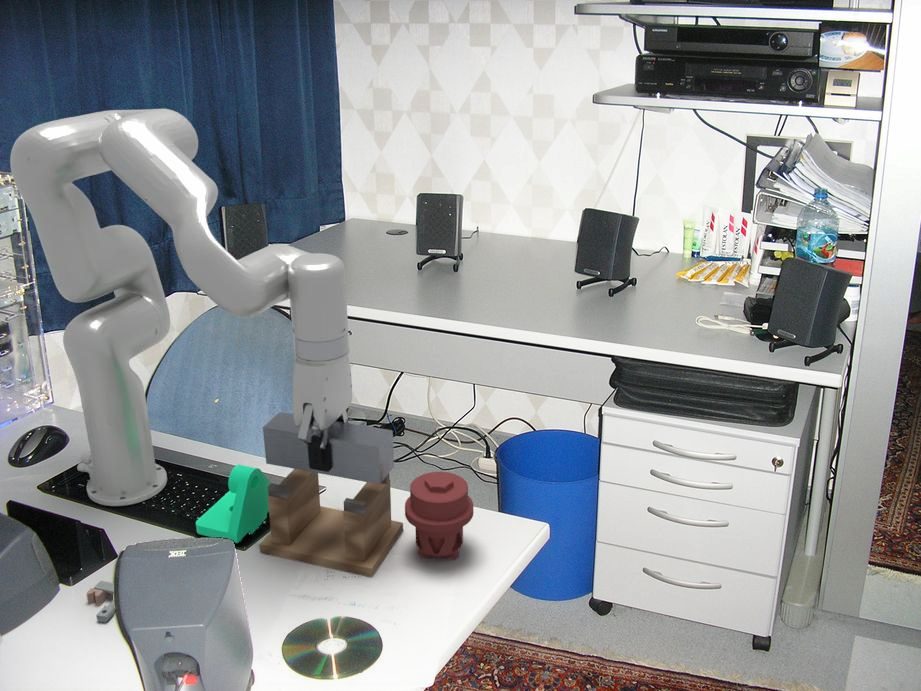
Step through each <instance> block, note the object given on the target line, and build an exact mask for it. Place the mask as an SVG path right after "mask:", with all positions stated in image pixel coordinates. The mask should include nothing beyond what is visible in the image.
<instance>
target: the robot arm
mask: <svg viewBox="0 0 921 691" xmlns="http://www.w3.org/2000/svg"><path fill="white" fill-rule="evenodd" d="M198 149H199V138H198V135H197V131H196V130H195V128H194V126H193V125H192V123H191V122H190V121H189V120H188V118H187V117H185V116H184V115H183V114H181V113H179V112H177V111H175V110H172V109H169V108H150V109H149V108H147V109H113V110H103V111H102V110H101V111H96V112H92V113H87V114H82V115H77V116H72V117H65V118H59V119H56V120H55V119H54V120H51V121H47V122H43V123H40V124H37V125H35V126H33V127H30V128H28V129H26V130H25V132H23V133H22V134H20V135H19V136H18V138H16V140H15V142H14V144H13V146H12V148H11V151H10V158H9V162H10V164H9V165H10V172H11V175H12V179H13V182H14V185H15V186H16V189H17V191H18V192H19V194H20V196H21V198H22V200H23V201H24V204H25V205H26V207H27V210H28V211H29V213H30V215H31V218H32V220H33V223H34V226H35V229H36V232H37V235H38V238H39V241H40V245H41V248H42V250H43V251H42V252H43V253H44V256H45V259H46V262H47V265H48V268H49V270H50V271H49V272H50V274H51V277H52V279H53V282H54V285H55V288H56V289H57V291H58V292H59V294H60V295H61V297H62V298H64V299H65V300H67V301H69V302H71V303H75V304H76V303H77V304H78V303H80V304H81V303H87V302H89V301H92V300H96V299H98V298H100V297H103V296H105V295H109V294H110V293H112V292H113V293H114V296H115V297H114V298H113V299H112V298H111V299H110V300H108V301H105V302H102V303H100V304H98V305H95V306H94V307H91V308H90V309H87V310H85V311H83V312H81V313H80V314H77V315H76V316H74V318H73V319H71V320H70V322H69V323H68V324H67V325H66V327H65V328H64V332H63V335H62V343H63V347H64V352H65V354H66V357H67V358H68V360H69V364H70V365H71V368H72V371H73V374H74V376H75V380H76V384H77V387H78V392H79V393H78V394H79V398H80V402H81V406H82V407H81V408H82V412H83V417H84V424H85V428H86V434H87V435H86V436H87V439H88V440H87V441H88V445H89V451H90V453H88V452H83V453H82V454H81V456H80V458H79V459H80V460H79V461H80V462H79V463H78V465H77V466H76V467H77V468H76V469H77V471H79V472H82V473H83V472H84V473H88V474H89V478H90V479H89V480H88V481H87V484H86V492H87V493H86V494H87V497H89V499H90V500H91V501H92V502H94V503H97V504H99V505H101V506H106V507H107V506H109V507H124V506H130V505H131V506H132V505H135V504H138V503H142V502H144V501H146V500H149V499H151V498H153V497H155V496H157V495H158V494H159V493H160V492H161V491H162V490H163V489H164V488H165V487H166V485H167V482H168V476H167V475H168V474H167V471H166V470H165V468H164V467H163V466H161V464H157V463H156V460H155V452H154V445H153V439H152V431H151V425H150V419H149V413H148V412H149V411H148V406H147V398H146V393H145V388H144V384H143V382H142V379H141V378H140V376H139V375H138V374H137V373H136V372H135V371H134V370H133V368H132V367H131V365H130V360H131V359H133V358H134V357H136V356H138V355H139V354H141V353H144V352H145V351H147V350H148V349H150V348H152V347H153V346H156V345H157V344H159V343H161V342H162V341H163V340H164V339H166V336H167V335H168V334H169V332H170V327H171V316H170V309H169V306H168V303H167V299H166V295H165V292H164V289H163V285H162V282H161V279H160V278H161V277H160V275H159V271H158V267H157V265H156V261H155V259H154V255H153V253H152V250H151V248H150V246H149V244H148V243H147V241H146V240H145V239H144V237H143V236H142V235H141V234H140V233H139V232H138V231H137V230H135V229H133V228H131V227H129V226H127V225H122V224H114V225H108V226H105V227H103V228H101V227H100V224H99V222H98V221H99V220H98V218H97V215H96V211H95V208H94V206H93V204H92V203H91V201H90V200H89V198H88V196H86V194H85V193H84V192H83V191H82V190H81V189H80V188H78V186H77V185H75V184H74V183H73V182H74V181H77V180H80V179H83V178H86V177H90V176H94V175H98V174H103V173H106V172H109V171H112V172H113V173H114V174H115V175H116V176H117V177H118V178H119V179H120V180H121V181H122V182H123V183H124V184H125V185H126V186H128V187H129V188H130V189H131V191H133V193H135V194H136V195H137V196H138V197H139V198H140V199H141V200H142V201H144V202H145V204H146V205H148V206H149V207H150V208H151V209H152V210H153V211H154V212H155V213H156V214H157V215H158V216H159V217H161V219H162V220H164V222H166V224H168V225H169V226H170V228H171V230H172V231H171V232H172V238H173V244H174V248H175V251H176V254H177V258H178V259H179V261H180V264H181V266H182V268H183V270H184V272H185V273H186V275H187V277H188V278H189V280H190V281H192V283H193V284H194V285H195V286H196V287H197V288H198V289H199V290H200V291H201V292H203V294H205V295H206V297H207V298H209V299H210V300H211V301H212V302H213V303H215V305H216V306H218V307H219V308H221V309H222V310H223V311H225V312H226V313H228V314H230V315H232V316H235V317H238V318H243V319H244V318H246V319H247V318H252V317H255V316H258V315H260V314H262V313H263V312H266V311H267V310H268V309H270V308H272V307H274V306H275V305H277V304H279V303H282V302H285V301H288V300H289V303H290V304H289V305H290V315H291V316H290V318H291V328H292V340H293V351H294V352H293V354H294V359H295V360H294V363H293V373H292V374H293V375H292V414H293V418H294V424H295V426H297V427H299V426H301V427H300V431H299V435H298V439H299V440H301V441H303V442H305V443H306V446H308V457H309V467H310V468H311V469H314V470H320V471H325V472H329V471H330V470H331V458H330V446H328V445H327V435H328V427H329V426H331V425H332V424H333V423H334V422H335V421H338V422H344V423H349V417H348V412H349V410H350V406H351V404H352V401H353V383H352V381H353V380H352V371H351V369H352V368H351V362H350V340H349V338H350V337H349V322H348V321H349V320H348V304H347V302H348V300H347V285H346V284H347V283H346V270H345V265H344V262H343V261H342V259H340V258H339V257H338V256H336V255H334V254H329V253H322V252H321V253H318V252H316V253H314V252H313V253H311V252H308V251H305V250H302V249H299V248H297V247H296V246H295V247H294V246H292V245H288V244H284V243H274V244H269V245H268V246H264V247H263V248H261V249H259V250H257V251H254V252H252V253H250V254H248V255H246V256H243V257H242V258H240V259H236V258H235V257H234V256H233V255H232V254H231V253H230V252H228V250H227V249H226V248H225V247H223V245H221V243H220V242H219V241H218V240H217V239H216V237H215V235H213V233H212V232H211V229H210V226H209V224H208V218H207V217H208V216H209V214H210V213H211V211H212V210H213V209H214V206H215V204H216V202H217V200H218V196H219V189H218V186H217V184H216V182H215V181H214V180H213V179H212V178H211V177H209V175H207V173H205V172H204V171H203V170H202V169H201V168H200V167H198V166H197V164H196V163H194V161H192V160H194V158H195V157H196V156H197V153H198ZM314 421H316V422H317V424H313V423H314ZM313 430H318V431H321V434H320V438H319V437H318V436H317V435H313Z"/></svg>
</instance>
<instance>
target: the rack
mask: <svg viewBox="0 0 921 691" xmlns="http://www.w3.org/2000/svg"><path fill="white" fill-rule="evenodd" d="M292 469H293V468H292ZM270 483H271V484H270V485H269V486H268V506H269V512H268V516H269V527H270V532H269V533H268V534H267V535H266V536H265V537H264V538H263V539H262V541H261V542H260V543H259V544H258V545H259V553H260V554H264V555H270V556H275V557H278V558H283V559H288V560H291V561H295V562H296V561H297V562H301V563H305V564H310V565H314V566H319V567H324V568H329V569H333V570H338V571H342V572H347V573H350V574H355V575H361V576H363V577H364V576H365V577H369V578H373V576H374V575H375V574H376V573H377V571H378V569H379V567H380V566H381V564H382V563H383V562H384V560H385V559H386V557H387V556H388V554H389V553H390V551H391V550H392V548H393V547H394V545H395V543H396V542H397V541H398V539H399V538H400V536H401V535H402V533H403V532H404V522H402V521H398V520H397V521H396V520H392V500H391V499H392V498H391V494H392V493H391V479H390V473H389V474H388V475H387V477H386V478H385V479H384V480H383V482H382V483H381V484H375V483H369V482H365V484H364V485H363V486H362V487H361V489H360V490H359V491H358V492H357V493H356V495H355V496H354V497H353V498H349V497H346V498H345V499H344V500H343V510H341V509H338V508H337V509H336V508H332V507H331V508H330V507H327V506H322V505H321V498H320V497H321V496H320V482H319V473H315V472H309V471H304V470H298V469H293V470H291V472H289V473H288V474H287V476H286V477H284V478H283V480H282V481H281V482H280V483H279V484H277V483H272V482H270Z"/></svg>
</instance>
